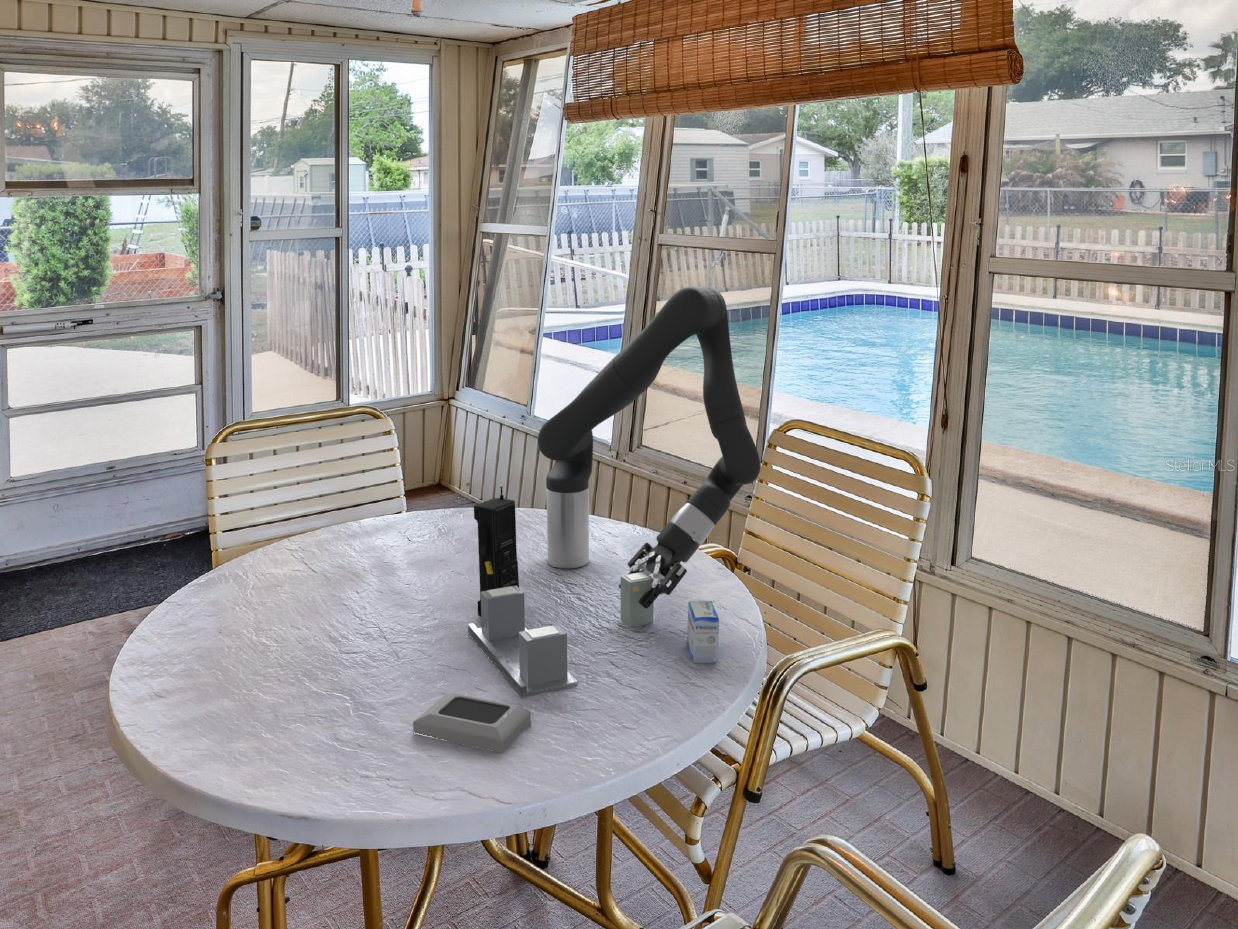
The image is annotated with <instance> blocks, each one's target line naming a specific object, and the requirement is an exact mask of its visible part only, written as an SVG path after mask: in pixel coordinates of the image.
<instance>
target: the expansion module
mask: <svg viewBox="0 0 1238 929" xmlns="http://www.w3.org/2000/svg"><path fill="white" fill-rule="evenodd" d="M653 580H654V577H653V576H651V575H648V574H647V573H645V572H639V573H633V574H629V573H627V574H624V575H620V584H621V589H620V621H621V622H622V623H624V624H625V625H626V626H628V627H629V628H633V626H634V627H638V626H643V624H644V625H648V623H649V624H653V623H654V602H653V603H652V604H651V605H650V606H649V607H648V608H647V609H646V608H644V607H643V606H642V605H641V604H639V600H640V598H641V597H642V596H643V595H644V594H645V592H646V591H647V590H648V589H649V587H652V584H653Z"/></svg>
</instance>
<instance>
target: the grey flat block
mask: <svg viewBox="0 0 1238 929" xmlns="http://www.w3.org/2000/svg"><path fill="white" fill-rule="evenodd" d="M531 715H532V714H531V711H530V710H529V708H526V707H523V706H521V705H517V704H512V703H507V702H502V701H496V700H492V699H486V698H480V697H475V696H470V695H465V694H460V693H456V692H452V693H451V692H449V693H446V694H443V696H442V697H441V698H439V699H438V700H437V701H436V702H435V703H434V704H432V705H431V706H430V707H429V708H428V709H426V710H425V711H424V712H423V713H422V714H420V715H419V716H418V717H417V718H416V719H415V720H414V721H413V722H412V729H413V730H412V732H413V733H414V732H415V733H419V734H423V735H427V736H432V737H434V738H438V739H444V740H447V741H450V742H449V743H452V742H454V744H457V743H459V745H462V744H464V745H463V746H466V745H467V747H471V746H474V747H473V748H476V747H478V748H477V749H481V748H483V750H485V749H489V750H488V751H490V750H493V751H492V752H496V753H499V754H500V753H501V754H503V753H504V752H505V751H506V750H507V749H508V748H509V747H510V746H511V744H513V742H515V741H516V739H517V738H518V737H519V736H520V735H521V734H522V733H523V732H524V731H525V730H526V729H527V728H528V727H529V726H530V724H531V723H532V717H531ZM438 739H437V740H438ZM447 741H446V742H447ZM507 747H508V748H507ZM505 749H506V750H505Z"/></svg>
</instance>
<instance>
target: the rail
mask: <svg viewBox="0 0 1238 929" xmlns="http://www.w3.org/2000/svg"><path fill="white" fill-rule="evenodd" d="M526 630H528V628H527V627H525V631H526ZM467 633H469V634H468V636H469V635H470V636H471V637H472V638H473V639H472V638H471V637H470V636H469V637H470V638H471V639H472V640H473V641H474V640H475V642H476V643H477V644H478V645H477V644H476V643H475V642H474V643H475V644H476V645H477V647H478V648H479V647H480V648H481V649H482V650H483V651H482V650H481V649H480V648H479V649H480V650H481V651H482V652H484V653H485V654H486V655H487V656H486V655H485V654H484V653H483V654H484V655H485V656H486V657H487V658H488V657H489V659H490V660H489V659H488V660H489V662H491V661H492V662H491V663H492V665H493V664H494V665H495V666H494V665H493V666H494V667H495V668H496V669H497V670H499V671H500V672H499V671H498V672H499V673H500V674H501V676H502V675H503V676H502V677H503V678H504V679H505V681H506V682H507V681H508V682H507V683H508V684H509V686H510V687H511V688H512V689H513V690H514V691H515V693H516V694H517V695H518V696H519V697H520V698H521V699H523V698H529V697H533V696H538V695H542V694H543V695H544V694H547V693H551V692H556V691H562V690H565V689H570V688H574V687H579V681H578V680H577V678H575V677H574V676H573V675H572V674H571V673H570V672H569V670H567V677H568V678H564V679H559V680H555V681H550V682H545V683H541V684H536V685H531V686H528V685H527V684H526V683H525V682H524V681H523V679H522V678H521V677H520V666H519V635H515V636H510V637H504V638H499V639H494V640H488V639H487V638H486V636H485V635H484V634H483V633H482V627H479V628H478V627H477V626H476V625H475V624H474V623H473V622H471V623H468V624H467Z"/></svg>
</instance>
